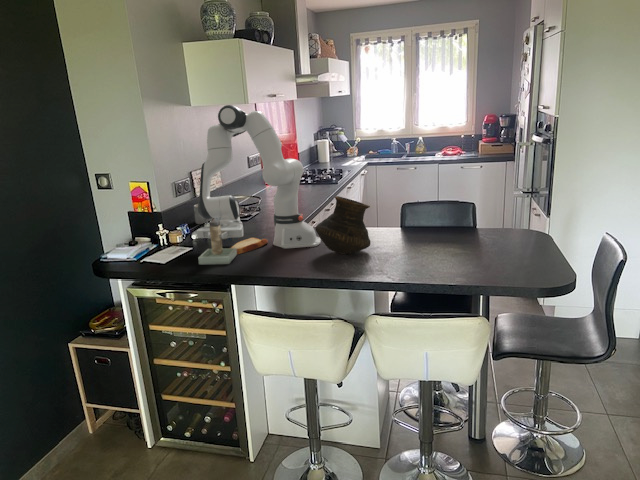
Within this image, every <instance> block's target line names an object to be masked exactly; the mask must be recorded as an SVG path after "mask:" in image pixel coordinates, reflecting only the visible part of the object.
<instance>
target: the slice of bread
mask: <svg viewBox="0 0 640 480" xmlns="http://www.w3.org/2000/svg"><path fill="white" fill-rule="evenodd" d="M268 243H269V241H268V239H267V238H262V239H259V238H257V237H248V238H247V239H243V240H240V241H238V242H236V243H235V244H234V245H231V247H230V248H236V249H237V255H240V254H241V255H242V254H244V253H248V252H251V251H254V250H257V249H259V248H261V247H264V246H265V245H266V244H268Z"/></svg>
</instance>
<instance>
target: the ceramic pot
mask: <svg viewBox="0 0 640 480" xmlns="http://www.w3.org/2000/svg"><path fill="white" fill-rule="evenodd" d="M334 199H335V200H336V201H335V207H334V210H333V213H331V214H329V216H328V217H326V218H325V219H323V220H322V221H321V222H319V223H317V224H316V226H315V228H314V230H315V233H317V235H318V237H319V238H320V239H321V242H322V243H323V244H324V246H325V247H327V249H328V250H330V251H332V252H334V253H338V254H341V255H348V256H349V255H351V254H354V253H357V252H361V251H363V250H365V249H368V248H369V247H371V239H370V235H369V230H368V229H367V226H366V225H365V223H364V216H365V212H366V211H367V209H369V208H371V206H370V205H367V204H365V203H362V202H360V201H356V200H354V199H350V198H346V197H343V196H334Z"/></svg>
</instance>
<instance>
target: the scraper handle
mask: <svg viewBox="0 0 640 480" xmlns="http://www.w3.org/2000/svg"><path fill="white" fill-rule="evenodd" d="M208 225H209V226H208V227H210V235H211V239H210V242H211V249H212V253H213V255H217V254H222V252H223V239H220V237H219V235H220V234H221V229H220V221H211V222H209V223H208Z"/></svg>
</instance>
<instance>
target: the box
mask: <svg viewBox="0 0 640 480" xmlns="http://www.w3.org/2000/svg"><path fill="white" fill-rule="evenodd" d="M222 248H223V247H222ZM237 255H238V254H237V249H236V248H231V247H229V248H226V247H225V248H223V252H222V254H217V255H213V253H212V248H207V249H206V250H205V251H204V252H202V253H201V254H200V255H199V256H198V257H197V258H198V265H230V264H231V263H232V261H234V260H235V258H236V257H237Z"/></svg>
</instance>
